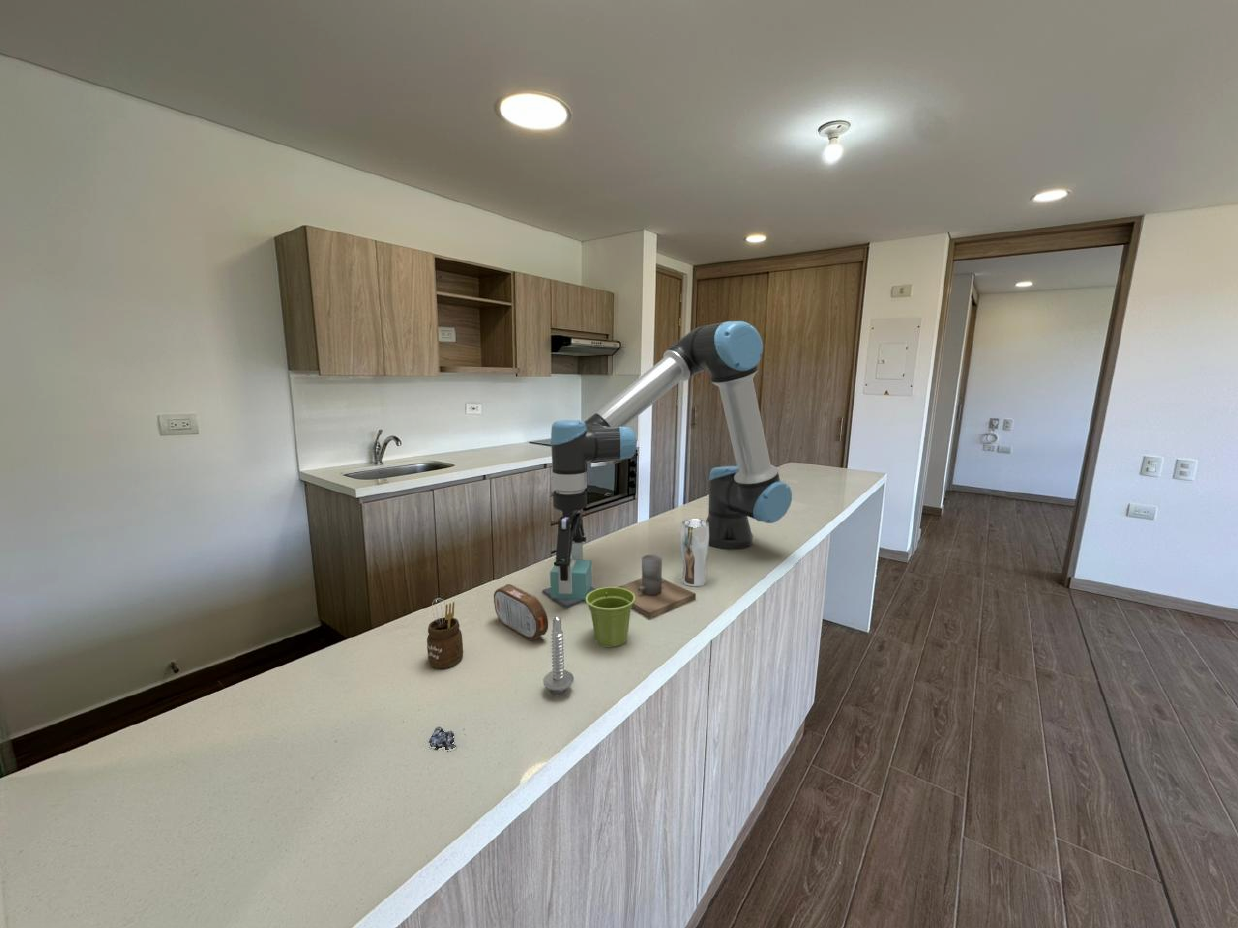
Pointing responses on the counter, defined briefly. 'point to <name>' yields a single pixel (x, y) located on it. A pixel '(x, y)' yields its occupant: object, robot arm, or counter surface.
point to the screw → (558, 663)
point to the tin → (521, 611)
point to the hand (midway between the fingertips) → (571, 580)
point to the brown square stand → (656, 590)
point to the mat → (565, 602)
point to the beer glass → (694, 551)
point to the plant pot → (610, 614)
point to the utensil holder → (444, 640)
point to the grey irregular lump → (442, 739)
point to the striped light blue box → (574, 580)
